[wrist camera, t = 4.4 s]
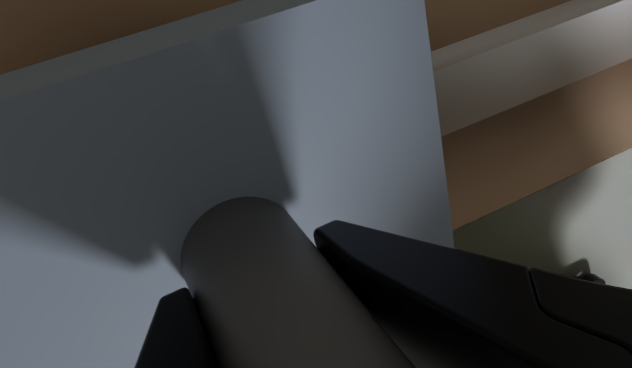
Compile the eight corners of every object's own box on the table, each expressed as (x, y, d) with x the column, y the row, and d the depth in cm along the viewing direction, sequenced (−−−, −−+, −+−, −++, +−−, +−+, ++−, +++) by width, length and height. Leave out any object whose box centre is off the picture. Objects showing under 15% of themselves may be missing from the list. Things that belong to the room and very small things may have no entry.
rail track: (636, 124, 19) (699, 144, 17) (-250, 523, 12) (-305, 627, 11) (656, -189, 15) (743, -207, 13) (-685, 174, 8) (-908, 245, 6)
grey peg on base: (385, 237, 15) (682, 510, 8) (81, 374, 13) (107, 912, 6) (331, -41, 11) (769, -2, 4) (-94, 86, 9) (-541, 535, 2)
